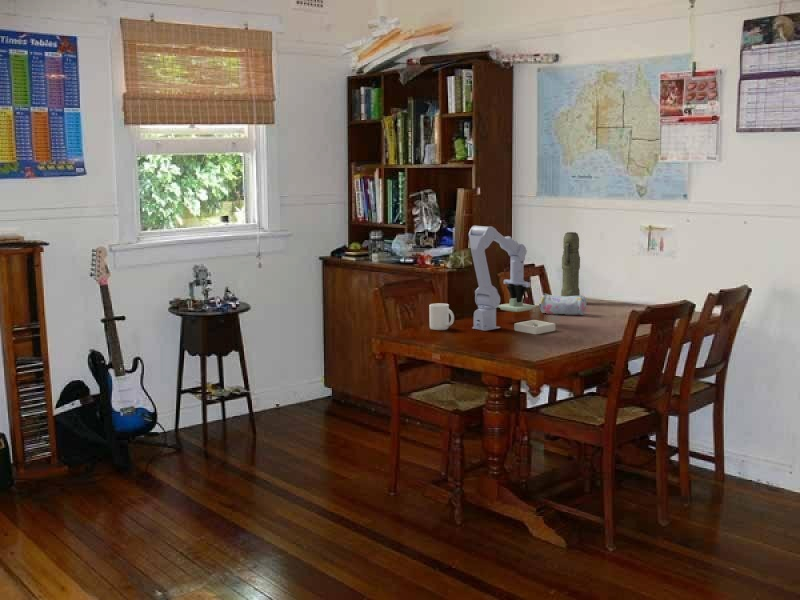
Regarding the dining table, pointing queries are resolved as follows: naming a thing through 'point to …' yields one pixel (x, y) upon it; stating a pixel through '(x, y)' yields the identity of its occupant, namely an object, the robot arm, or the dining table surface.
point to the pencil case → (563, 304)
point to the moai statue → (570, 265)
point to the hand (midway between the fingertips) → (516, 301)
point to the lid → (516, 306)
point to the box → (534, 327)
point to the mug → (440, 316)
